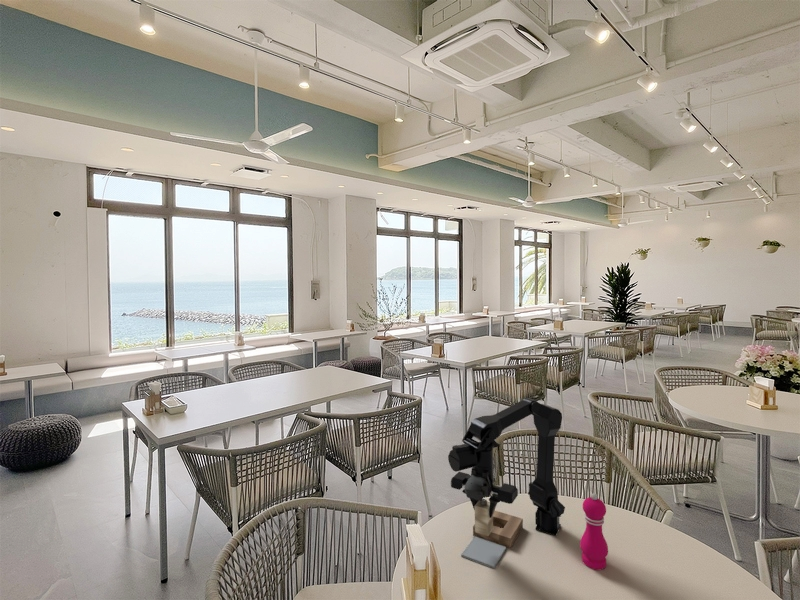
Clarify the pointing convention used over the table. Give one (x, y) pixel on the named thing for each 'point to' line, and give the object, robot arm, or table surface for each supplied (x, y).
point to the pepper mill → (594, 534)
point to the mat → (484, 552)
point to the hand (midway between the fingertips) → (483, 515)
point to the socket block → (503, 529)
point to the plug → (483, 518)
